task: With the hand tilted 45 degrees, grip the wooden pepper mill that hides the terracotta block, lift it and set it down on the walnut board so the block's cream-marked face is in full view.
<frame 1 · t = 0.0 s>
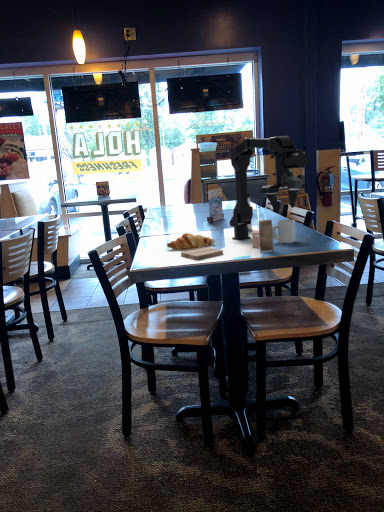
hand: (284, 209, 164), 15 cm above the table, tool pointing down, fingers open, 9 cm apart
marked block: (260, 245, 172), on the table
travel mug: (245, 231, 211), on the table
walnut board: (201, 255, 164), on the table
cup: (283, 242, 174), on the table
croissant: (191, 248, 182), on the table
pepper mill: (266, 251, 160), on the table
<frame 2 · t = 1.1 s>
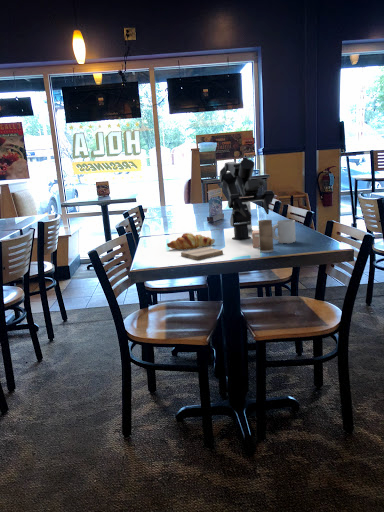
hand: (257, 215, 165), 13 cm above the table, tool tilted 45°, fingers open, 9 cm apart
nothing on the table moved.
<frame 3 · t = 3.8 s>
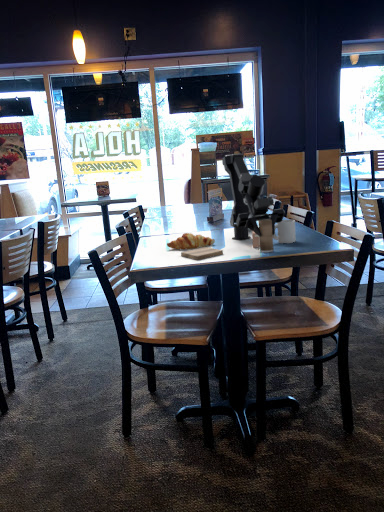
hand: (267, 235, 157), 7 cm above the table, tool tilted 45°, fingers closed on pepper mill, 5 cm apart
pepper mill: (266, 251, 160), on the table, touching gripper
everything else where it was.
when the fingers open (9 cm above the table, at t = 8.6 s): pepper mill drops 1 cm, resting on walnut board.
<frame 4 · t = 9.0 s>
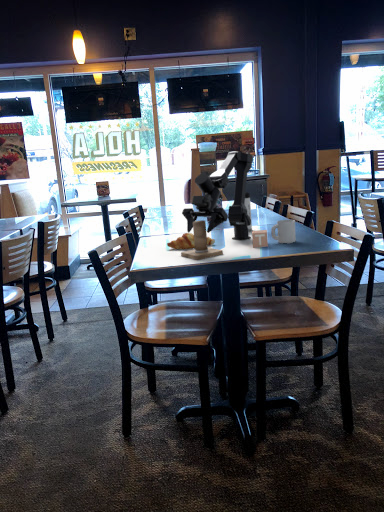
hand: (197, 232, 161), 10 cm above the table, tool tilted 45°, fingers open, 9 cm apart
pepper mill: (201, 251, 164), point 2 cm above the table, touching walnut board
everything else where it was.
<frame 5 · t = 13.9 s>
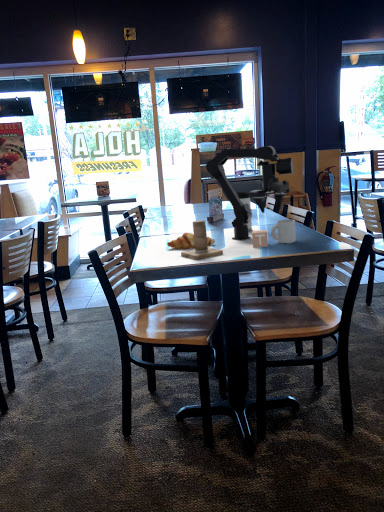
hand: (271, 211, 182), 12 cm above the table, tool pointing down, fingers open, 9 cm apart
at the end: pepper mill inside the target area (0.1 cm from its centre), point 1.5 cm above the table; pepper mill tilted 0°; marked block moved 0.1 cm from its start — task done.
